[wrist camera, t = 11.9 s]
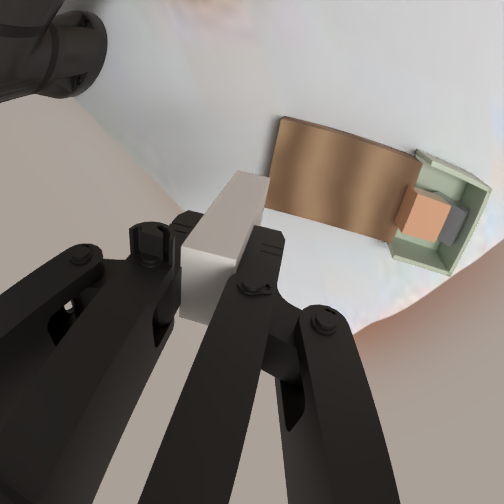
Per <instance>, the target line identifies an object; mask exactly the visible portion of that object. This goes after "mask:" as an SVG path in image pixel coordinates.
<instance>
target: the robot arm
mask: <svg viewBox="0 0 504 504" xmlns="http://www.w3.org/2000/svg"><path fill="white" fill-rule="evenodd" d="M64 1H65V0H0V103H2V102H5V101H9V100H12V99H16V98H19V97H23V96H27V95H31V94H39V95H43V96H48V97H52V98H58V99H61V98H68V97H73V96H76V95H79V94H81V93H82V92H84V91H85V90H86V89H87V88H88V87H89V86H90V85H91V84H92V83H93V82H94V80H95V79H96V77H97V76H98V74H99V72H100V70H101V68H102V65H103V63H104V59H105V55H106V50H107V34H106V30H105V27H104V24H103V22H102V21H101V20H100V18H99V17H98V16H96V15H95V14H93V13H90V12H85V11H71V12H67V13H64V14H61V15H57V16H55V15H56V14H57V12H58V10H59V9H60V7H61V5H62V4H63V2H64ZM269 182H270V177H265V176H261V175H256V174H252V173H247V172H243V171H237V172H236V173H235V175H234V176H233V177H232V178H231V180H230V181H229V182H228V184H227V185H226V186H225V187H224V189H223V190H222V191H221V193H220V194H219V195H218V197H217V198H216V199H215V201H214V202H213V203H212V205H211V206H210V207H209V209H208V210H207V211H206V213H205V214H202V213H198V212H193V211H189V210H188V211H186V212H184V213H182V214H179V215H178V216H177V217H176V218H175V219H174V220H173V221H172V224H170V225H169V226H168V225H166V224H163V223H160V222H143V223H139V224H136V225H134V226H132V227H131V228H129V237H130V252H131V254H130V255H129V257H127V259H126V260H113V259H103V254H102V250H101V249H100V248H99V247H98V246H96V245H93V244H78V245H75V246H72V247H70V248H68V249H67V250H65V251H63V252H62V253H60V254H59V255H57V256H56V257H54V258H53V259H51V260H50V261H48V262H46V263H45V264H44V265H42V266H40V267H39V268H38V269H36V270H35V271H33V272H32V273H30V274H29V275H27V276H26V277H24V278H23V279H22V280H20V281H19V282H17V283H16V284H15V285H13V286H12V287H10V288H9V289H8V290H6V291H5V292H4V293H2V294H1V295H0V504H92V503H93V500H94V498H95V496H96V493H97V491H98V488H99V486H100V484H101V481H102V479H103V477H104V475H105V472H106V470H107V468H108V465H109V463H110V461H111V458H112V456H113V454H114V452H115V450H116V447H117V445H118V443H119V441H120V438H121V436H122V434H123V432H124V430H125V427H126V425H127V423H128V421H129V419H130V417H131V415H132V412H133V410H134V408H135V406H136V404H137V402H138V400H139V398H140V395H141V393H142V391H143V389H144V387H145V385H146V383H147V381H148V379H149V377H150V375H151V373H152V371H153V369H154V366H155V364H156V362H157V360H158V358H159V356H160V354H161V352H162V350H163V348H164V346H165V344H166V342H167V340H168V338H169V336H170V334H171V332H172V330H173V327H174V315H175V313H176V311H177V309H178V308H179V306H180V311H179V314H180V315H179V316H180V317H182V318H185V319H188V320H192V321H195V322H199V323H202V324H206V325H209V326H208V328H207V331H206V333H205V335H204V338H203V340H202V343H201V345H200V348H199V350H198V353H197V355H196V358H195V360H194V362H193V365H192V367H191V370H190V372H189V375H188V378H187V380H186V382H185V385H184V387H183V390H182V392H181V395H180V398H179V400H178V403H177V405H176V407H175V410H174V412H173V415H172V417H171V420H170V422H169V425H168V427H167V430H166V432H165V435H164V438H163V440H162V443H161V445H160V448H159V450H158V453H157V455H156V458H155V460H154V463H153V465H152V468H151V471H150V473H149V476H148V478H147V481H146V484H145V486H144V489H143V491H142V494H141V496H140V499H139V502H138V504H228V503H229V500H230V496H231V492H232V488H233V484H234V481H235V477H236V473H237V469H238V465H239V461H240V457H241V453H242V449H243V444H244V440H245V436H246V432H247V428H248V423H249V419H250V415H251V411H252V406H253V402H254V398H255V393H256V389H257V384H258V380H259V375H260V371H261V369H262V370H263V371H265V372H267V373H269V374H271V375H272V376H274V377H275V386H276V394H277V404H278V413H279V422H280V431H281V439H282V449H283V459H284V468H285V478H286V487H287V497H288V504H400V500H399V495H398V491H397V486H396V482H395V478H394V474H393V470H392V465H391V461H390V457H389V453H388V450H387V446H386V443H385V438H384V435H383V432H382V428H381V424H380V421H379V417H378V414H377V410H376V407H375V403H374V400H373V397H372V394H371V390H370V387H369V384H368V381H367V378H366V375H365V371H364V368H363V365H362V362H361V359H360V356H359V353H358V350H357V347H356V344H355V341H354V339H353V335H352V332H351V330H350V327H349V324H348V322H347V321H346V319H345V317H344V316H343V315H342V314H341V313H339V312H338V311H337V310H335V309H333V308H331V307H329V306H324V305H310V306H308V307H306V308H304V309H303V310H301V309H299V308H297V307H295V306H293V305H291V304H290V303H288V302H287V301H286V300H285V299H283V298H282V296H281V295H280V293H279V291H278V289H277V281H278V276H279V271H280V266H281V260H282V255H283V249H284V244H285V238H284V236H283V234H282V232H281V231H277V230H273V229H269V228H265V227H261V226H260V225H261V220H262V215H263V211H264V206H265V201H266V197H267V192H268V187H269ZM70 300H71V303H72V306H73V307H72V308H71V309H69V310H65V308H64V305H65V304H67V303H68V302H69V301H70Z"/></svg>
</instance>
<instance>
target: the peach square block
mask: <svg viewBox="0 0 504 504" xmlns="http://www.w3.org/2000/svg"><path fill="white" fill-rule="evenodd" d="M450 209H451V205H450V204H449V203H448V202H447V201H446V200H445V199H444V198H442V197H441V196H439V195H437V194H434V193H431V192H429V191H426V190H423V189H420V188H418V187H415V186H412V185H409V184H408V187H407V190H406V193H405V195H404V198H403V200H402V203H401V206H400V208H399V211H398V213H397V216H396V218H395V221H394V222H395V223H396V225H397V226H398V228H399V230H400V231H401V233H403V234H407V235H410V236H414V237H417V238H420V239H424V240H427V241H431V242H434V243H435V242H436V240H437V238H438V235H439V233H440V231H441V229H442V227H443V225H444V222H445V220H446V218H447V216H448V213H449V211H450Z"/></svg>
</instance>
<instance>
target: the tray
mask: <svg viewBox="0 0 504 504" xmlns="http://www.w3.org/2000/svg"><path fill="white" fill-rule="evenodd" d="M415 157H416V158H417V159H418V160H419V161H420V162H422V163H423V165H422V168H421V171H420V173H419V176H418V179H417V182H416V185H415V187H418V188H420V189H423V190H426V191H429V192H431V193H433V192H438V191H440V192H441V193H443V194H445V195H446V196H448V197H450V198H451V199H453V200H455V201H456V202H458V203H460V204H461V205H463V206H464V207H466V208H467V209H469V213H468V215H467V217H466V219H465V222H464V224H463V226H462V228H461V230H460V232H459V234H458V237H457V239H456V241H455V243H454V244H452V245H451V246H450V247H448V246H447V245H445V244H444V243H442V242H441V241H439V240H438V239H437V240H436V242H435V243H434V242H431V241H427V240H424V239H420V238H417V237H414V236H410V235H407V234H403V233H401V231H400V230H399V228H398V230H397V232H396V234H395V237H394V239H393V241H392V244H391V243H388V242H387V244H388V246H389V249H390V252H391V255H392V258H393V259H395V260H398V261H402V262H405V263H408V264H411V265H415V266H418V267H421V268H424V269H428V270H431V271H434V272H437V273H440V274H443V275H446V276H451V274H452V273H453V271H454V269H455V267H456V266H457V264H458V262H459V260H460V258H461V256H462V254H463V252H464V250H465V249H466V247H467V245H468V243H469V241H470V239H471V237H472V234H473V232H474V230H475V228H476V226H477V224H478V222H479V220H480V217H481V215H482V213H483V211H484V208H485V206H486V204H487V201H488V199H489V196H490V194H491V191H492V188H490V187H489V186H488V185H486V184H485V183H484V182H482V181H481V180H480V179H478V178H477V177H476V176H474V175H473V174H471V173H469V172H467V171H465V170H463V169H461V168H459V167H457V166H454V165H452V164H450V163H448V162H446V161H443V160H441V159H439V158H437V157H434V156H432V155H430V154H427V153H425V152H423V151H420V150H418V149H417V151H416V154H415Z"/></svg>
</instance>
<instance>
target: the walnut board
mask: <svg viewBox="0 0 504 504" xmlns="http://www.w3.org/2000/svg"><path fill="white" fill-rule="evenodd" d="M422 165H423V163H422V162H420V161H419V160H418V159H417V158H416V157H414V156H413V155H410V154H408V153H405V152H402V151H400V150H397V149H394V148H392V147H389V146H386V145H383V144H380V143H377V142H374V141H372V140H369V139H365V138H362V137H359V136H356V135H353V134H350V133H347V132H343V131H340V130H336V129H333V128H329V127H326V126H322V125H319V124H315V123H311V122H307V121H303V120H299V119H295V118H291V117H287V116H284V117H283V118H282V119H281V122H280V126H279V131H278V136H277V140H276V145H275V150H274V154H273V159H272V164H271V168H270V173H269V177H270V182H269V187H268V192H267V197H266V201H265V206H264V207H265V208H269V209H272V210H276V211H280V212H284V213H288V214H291V215H295V216H299V217H302V218H306V219H310V220H313V221H317V222H320V223H324V224H327V225H331V226H334V227H338V228H341V229H345V230H348V231H352V232H355V233H358V234H362V235H365V236H368V237H372V238H375V239H378V240H381V241H385V242H388V243H391V244H392V241H393V239H394V237H395V234H396V232H397V230H398V226H397V225H396V223H395V222H394V221H395V218H396V216H397V213H398V211H399V208H400V206H401V203H402V200H403V198H404V195H405V193H406V190H407V187H408V184H409V185H412V186H415V185H416V182H417V179H418V176H419V173H420V171H421V168H422Z"/></svg>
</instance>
